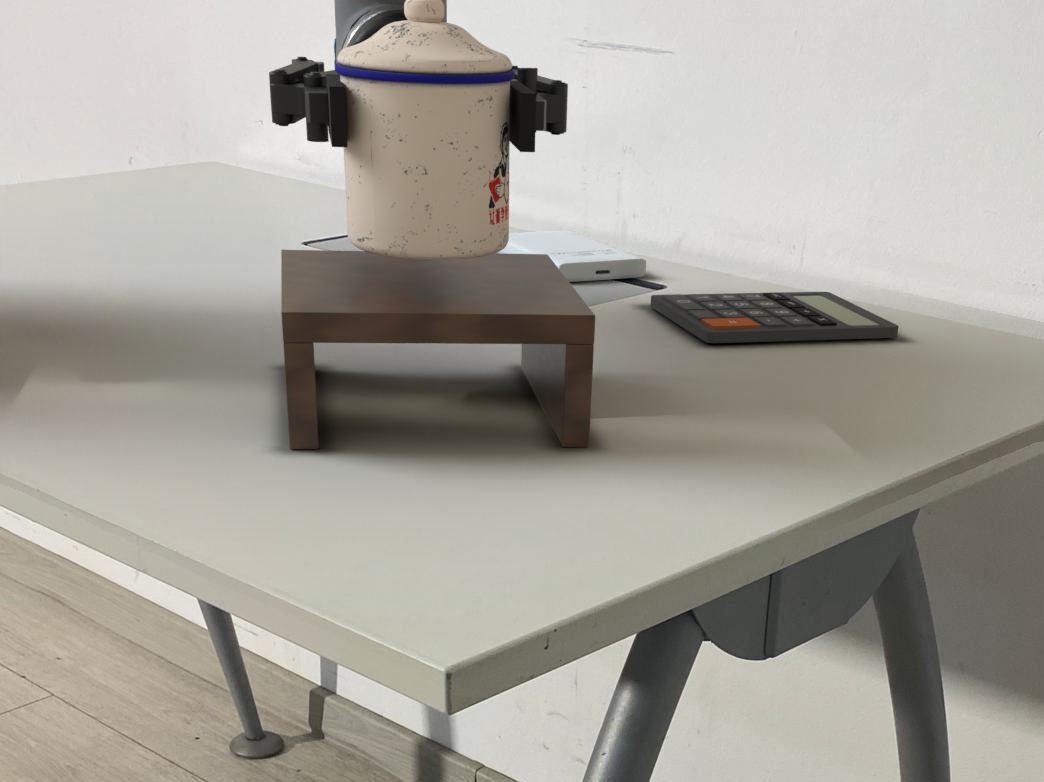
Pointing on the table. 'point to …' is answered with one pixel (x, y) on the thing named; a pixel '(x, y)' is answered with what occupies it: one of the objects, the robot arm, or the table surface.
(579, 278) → the hard drive
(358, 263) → the shelf
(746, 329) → the calculator
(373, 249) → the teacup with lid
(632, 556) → the table surface
